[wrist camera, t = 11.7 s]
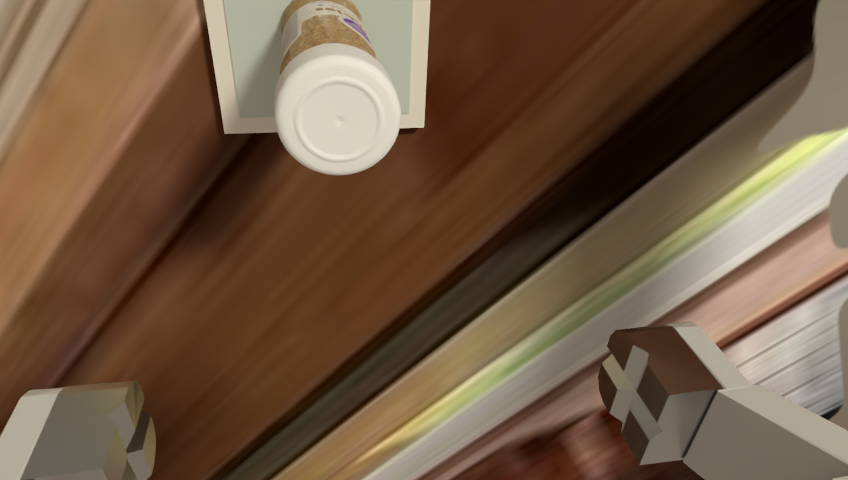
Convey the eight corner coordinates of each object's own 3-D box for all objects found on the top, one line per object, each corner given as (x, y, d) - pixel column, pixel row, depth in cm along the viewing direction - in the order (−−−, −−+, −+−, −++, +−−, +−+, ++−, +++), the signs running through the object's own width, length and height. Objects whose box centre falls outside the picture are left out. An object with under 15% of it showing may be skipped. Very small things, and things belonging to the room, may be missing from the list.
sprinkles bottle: (377, 11, 31) (426, 92, 20) (342, 85, 33) (369, 196, 22) (298, -31, 29) (304, 32, 18) (266, 49, 31) (253, 152, 20)
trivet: (431, -95, 29) (435, -94, 29) (421, 122, 36) (424, 128, 35) (189, -106, 27) (186, -105, 26) (225, 128, 34) (224, 134, 33)
